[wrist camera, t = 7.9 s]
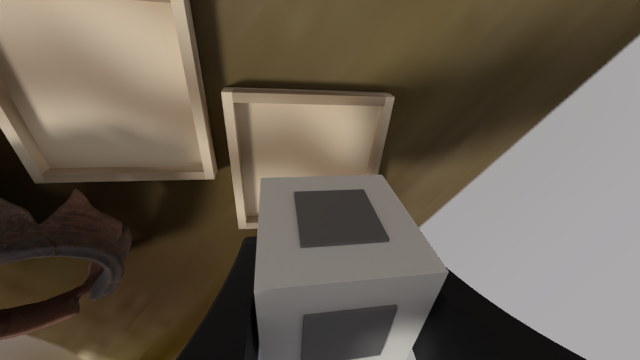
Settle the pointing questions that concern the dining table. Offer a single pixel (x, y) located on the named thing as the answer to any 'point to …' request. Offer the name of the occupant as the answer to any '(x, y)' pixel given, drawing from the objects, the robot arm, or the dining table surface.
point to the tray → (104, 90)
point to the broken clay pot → (62, 241)
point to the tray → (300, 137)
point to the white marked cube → (340, 270)
